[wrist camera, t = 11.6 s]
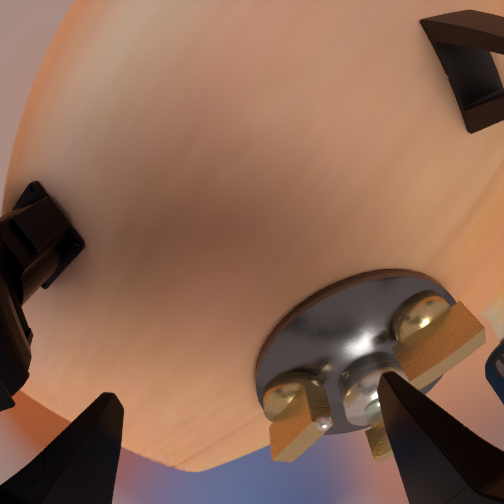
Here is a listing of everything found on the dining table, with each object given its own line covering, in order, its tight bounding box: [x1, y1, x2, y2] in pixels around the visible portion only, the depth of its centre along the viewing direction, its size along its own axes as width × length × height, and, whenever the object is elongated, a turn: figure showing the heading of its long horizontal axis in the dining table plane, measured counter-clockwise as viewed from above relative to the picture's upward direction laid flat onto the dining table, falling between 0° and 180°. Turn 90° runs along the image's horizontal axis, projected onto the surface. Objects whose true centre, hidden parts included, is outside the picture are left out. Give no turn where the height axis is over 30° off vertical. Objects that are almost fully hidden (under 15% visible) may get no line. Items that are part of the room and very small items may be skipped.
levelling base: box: [256, 269, 486, 462], centre depth 22 cm, size 20×20×7 cm
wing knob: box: [263, 372, 334, 462], centre depth 20 cm, size 7×5×6 cm
